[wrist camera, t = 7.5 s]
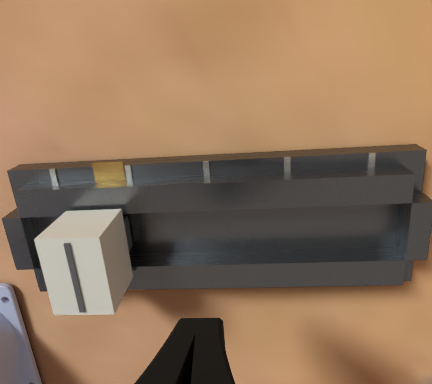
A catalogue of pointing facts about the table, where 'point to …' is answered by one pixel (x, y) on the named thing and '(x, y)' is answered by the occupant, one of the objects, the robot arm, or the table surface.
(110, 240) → the fader knob
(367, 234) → the console
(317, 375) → the table surface
